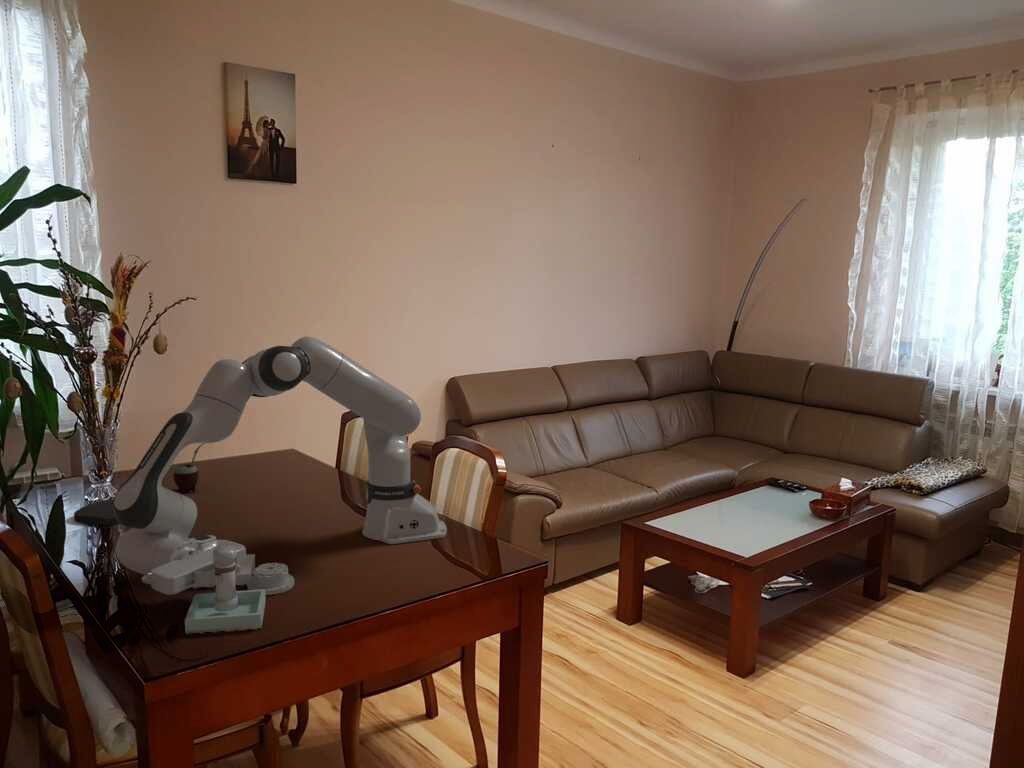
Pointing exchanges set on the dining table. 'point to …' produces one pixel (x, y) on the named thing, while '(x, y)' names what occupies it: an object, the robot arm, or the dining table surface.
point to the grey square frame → (241, 577)
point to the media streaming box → (96, 514)
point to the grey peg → (225, 578)
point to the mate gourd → (186, 475)
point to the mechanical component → (271, 578)
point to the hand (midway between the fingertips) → (228, 574)
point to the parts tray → (226, 613)
